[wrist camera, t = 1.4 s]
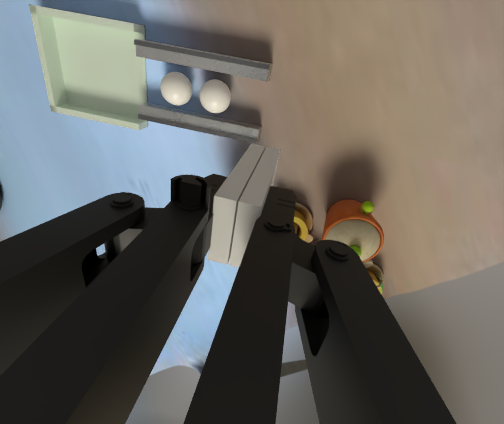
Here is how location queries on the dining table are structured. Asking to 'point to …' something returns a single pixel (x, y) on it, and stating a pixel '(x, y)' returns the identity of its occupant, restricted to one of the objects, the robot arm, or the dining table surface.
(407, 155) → the dining table surface
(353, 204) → the toy tea set
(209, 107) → the chip ball
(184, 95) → the chip ball
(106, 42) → the tray
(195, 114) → the slot rails
